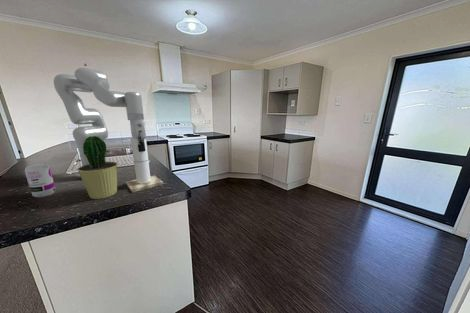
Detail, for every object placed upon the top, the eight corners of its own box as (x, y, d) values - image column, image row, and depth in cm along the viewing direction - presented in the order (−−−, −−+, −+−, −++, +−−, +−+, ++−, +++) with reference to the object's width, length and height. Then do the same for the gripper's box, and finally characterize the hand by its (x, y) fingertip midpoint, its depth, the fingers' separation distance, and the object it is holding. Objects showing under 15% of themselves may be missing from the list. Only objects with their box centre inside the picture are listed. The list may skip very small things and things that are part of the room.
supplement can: (55, 189, 94) (47, 162, 90) (57, 193, 89) (49, 165, 85) (32, 194, 88) (23, 165, 84) (33, 199, 83) (23, 169, 79)
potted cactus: (93, 204, 79) (79, 138, 71) (78, 196, 86) (63, 135, 79) (127, 191, 92) (118, 134, 84) (112, 185, 99) (102, 132, 92)
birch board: (132, 192, 91) (131, 189, 90) (125, 184, 101) (125, 181, 100) (163, 184, 101) (162, 181, 101) (154, 177, 111) (154, 175, 111)
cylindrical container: (140, 184, 96) (134, 139, 89) (134, 181, 100) (128, 138, 94) (153, 180, 101) (148, 138, 95) (146, 178, 105) (141, 136, 99)
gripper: (148, 117, 88) (152, 152, 92) (138, 116, 100) (142, 146, 105) (131, 118, 83) (136, 154, 87) (123, 116, 95) (128, 148, 100)
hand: (139, 150), depth 96 cm, fingers open, 7 cm apart
